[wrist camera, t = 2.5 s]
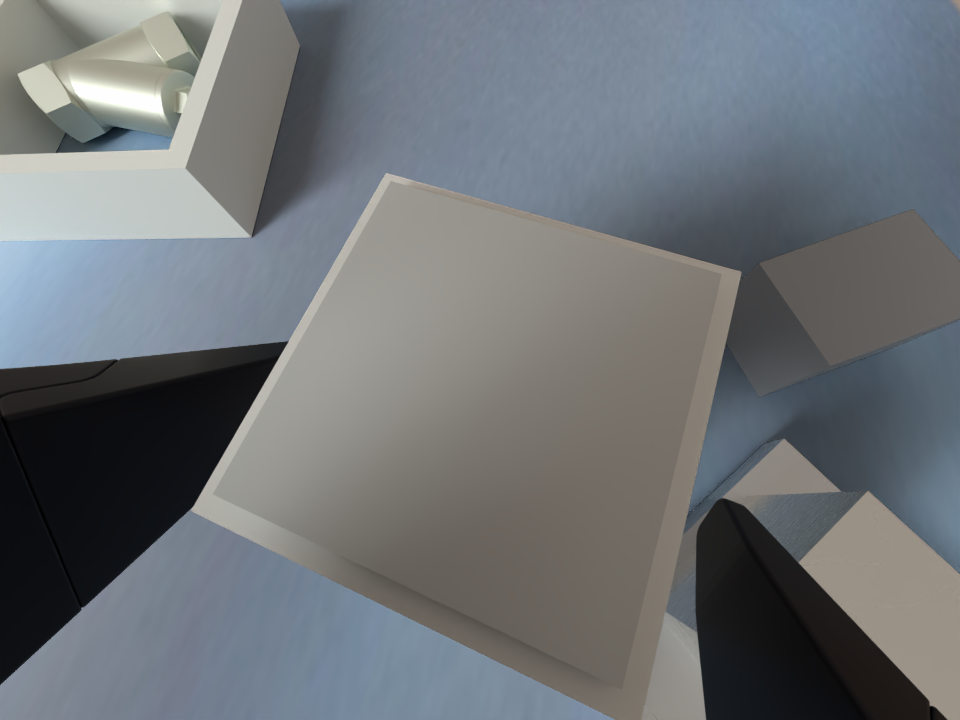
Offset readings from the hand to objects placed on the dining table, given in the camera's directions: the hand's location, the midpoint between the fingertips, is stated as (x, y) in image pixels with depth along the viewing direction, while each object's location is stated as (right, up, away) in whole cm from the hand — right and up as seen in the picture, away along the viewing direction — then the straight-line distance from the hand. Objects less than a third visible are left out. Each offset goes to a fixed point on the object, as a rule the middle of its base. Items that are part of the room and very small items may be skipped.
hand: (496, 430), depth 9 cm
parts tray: (-19, +14, +15) cm, 28 cm away
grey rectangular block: (+13, +3, +9) cm, 16 cm away
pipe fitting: (-19, +15, +15) cm, 29 cm away
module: (0, -3, +7) cm, 8 cm away
